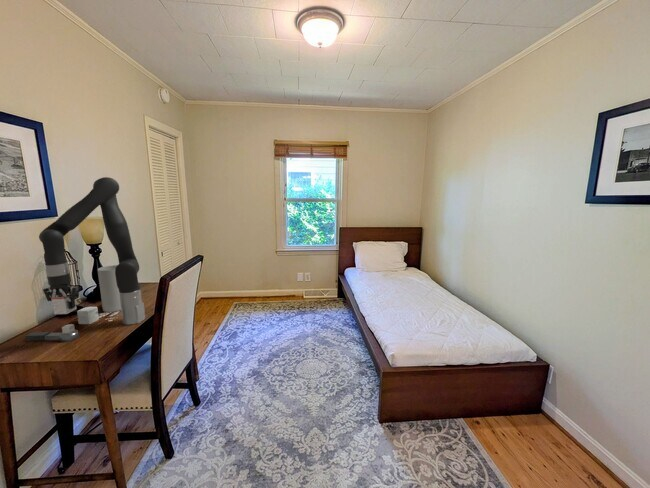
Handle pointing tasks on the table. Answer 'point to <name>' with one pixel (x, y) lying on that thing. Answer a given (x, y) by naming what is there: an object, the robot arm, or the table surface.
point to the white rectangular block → (61, 305)
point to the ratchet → (55, 335)
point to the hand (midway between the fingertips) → (65, 308)
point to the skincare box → (87, 315)
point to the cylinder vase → (109, 289)
